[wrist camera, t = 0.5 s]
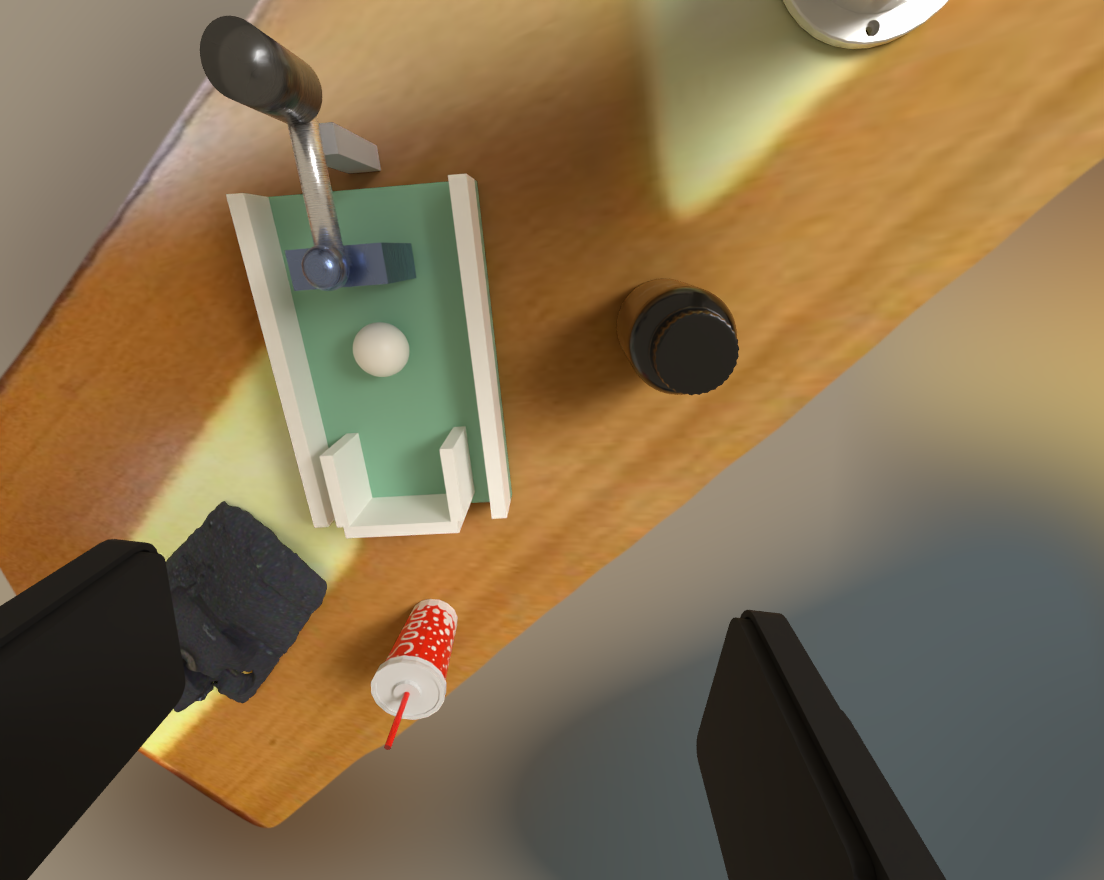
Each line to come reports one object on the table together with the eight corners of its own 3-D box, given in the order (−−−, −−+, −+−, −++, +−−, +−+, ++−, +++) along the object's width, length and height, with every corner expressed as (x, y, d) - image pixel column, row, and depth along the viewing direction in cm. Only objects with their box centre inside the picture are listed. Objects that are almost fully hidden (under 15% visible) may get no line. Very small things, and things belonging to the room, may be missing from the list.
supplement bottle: (610, 363, 41) (626, 406, 30) (621, 274, 39) (643, 285, 28) (695, 370, 41) (743, 417, 30) (712, 282, 39) (770, 296, 28)
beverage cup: (460, 590, 50) (421, 714, 36) (469, 641, 52) (435, 775, 39) (397, 593, 50) (337, 717, 37) (409, 644, 52) (355, 778, 39)
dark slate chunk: (362, 586, 50) (342, 619, 46) (240, 704, 56) (212, 744, 52) (227, 485, 47) (191, 510, 42) (113, 622, 53) (71, 657, 48)
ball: (359, 320, 40) (338, 328, 36) (411, 317, 39) (394, 324, 36) (370, 372, 41) (350, 384, 37) (419, 368, 41) (404, 380, 37)
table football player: (298, 98, 34) (159, 23, 23) (387, 90, 34) (292, 8, 22) (337, 285, 38) (237, 302, 27) (416, 279, 38) (350, 293, 26)
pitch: (250, 157, 37) (178, 136, 30) (472, 136, 36) (449, 111, 29) (335, 503, 47) (295, 548, 40) (512, 494, 46) (502, 538, 39)
